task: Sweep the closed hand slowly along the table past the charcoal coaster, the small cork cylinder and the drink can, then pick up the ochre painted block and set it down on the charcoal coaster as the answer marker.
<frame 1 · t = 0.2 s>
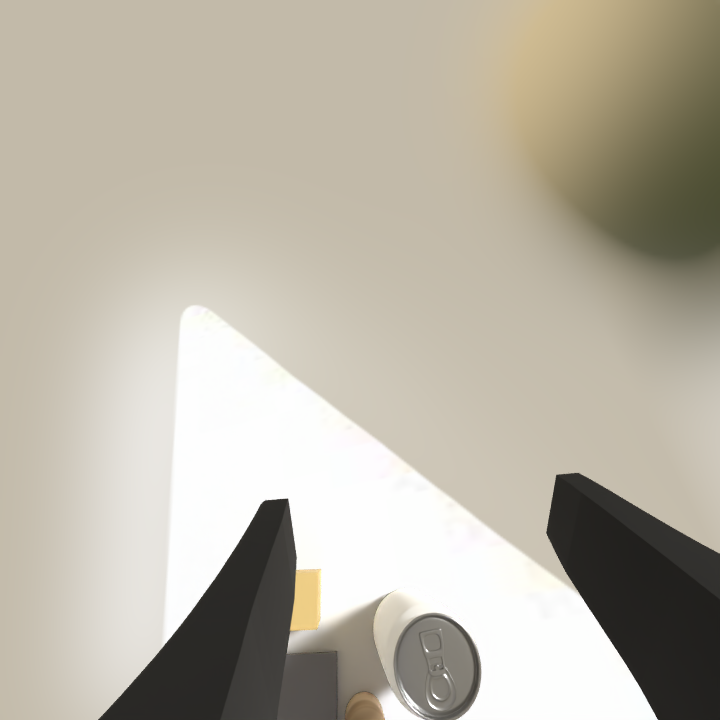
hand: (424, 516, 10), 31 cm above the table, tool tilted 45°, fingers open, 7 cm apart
can: (407, 627, 35), on the table
cork cylinder: (364, 716, 32), on the table
coaster: (301, 696, 32), on the table
ochre block: (299, 594, 36), on the table
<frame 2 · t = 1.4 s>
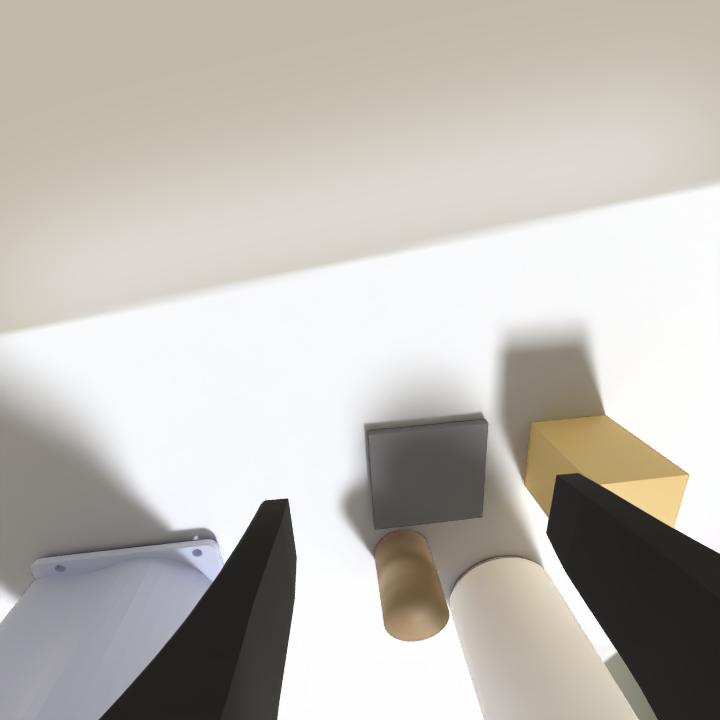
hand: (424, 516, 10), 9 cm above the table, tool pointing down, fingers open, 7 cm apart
can: (496, 587, 24), on the table
cork cylinder: (401, 551, 22), on the table
coaster: (427, 473, 20), on the table
ochre block: (563, 450, 21), on the table
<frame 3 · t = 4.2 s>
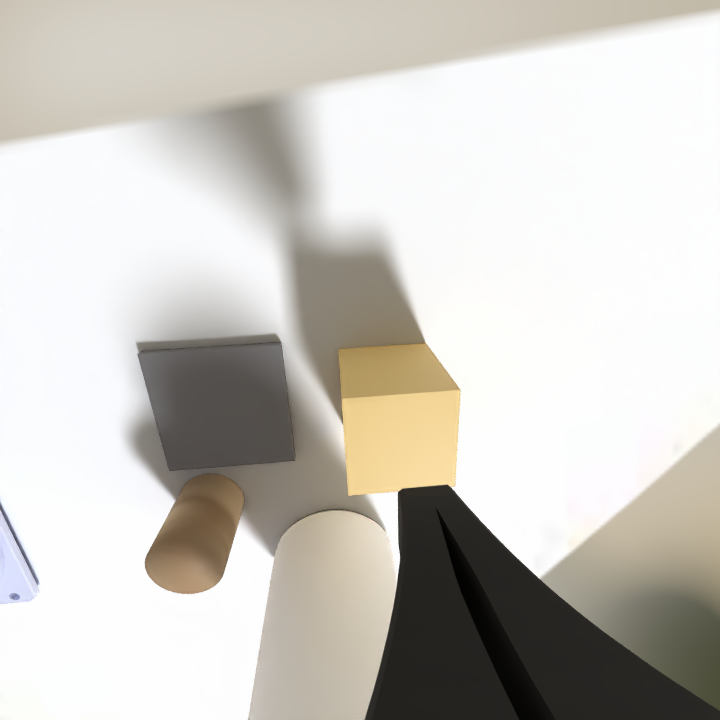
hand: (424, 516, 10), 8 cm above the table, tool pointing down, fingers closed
can: (334, 547, 22), on the table
cork cylinder: (212, 499, 20), on the table
coaster: (224, 407, 18), on the table
ochre block: (383, 385, 18), on the table
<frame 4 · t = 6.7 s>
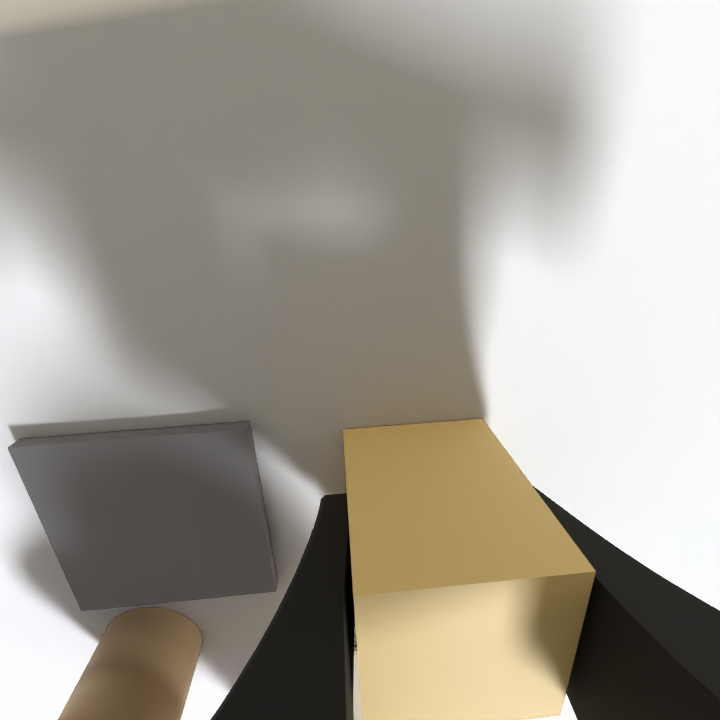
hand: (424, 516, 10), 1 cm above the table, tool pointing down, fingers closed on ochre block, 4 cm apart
can: (336, 688, 15), on the table
cork cylinder: (154, 639, 13), on the table
coaster: (162, 517, 11), on the table
ochre block: (412, 481, 12), on the table, touching gripper
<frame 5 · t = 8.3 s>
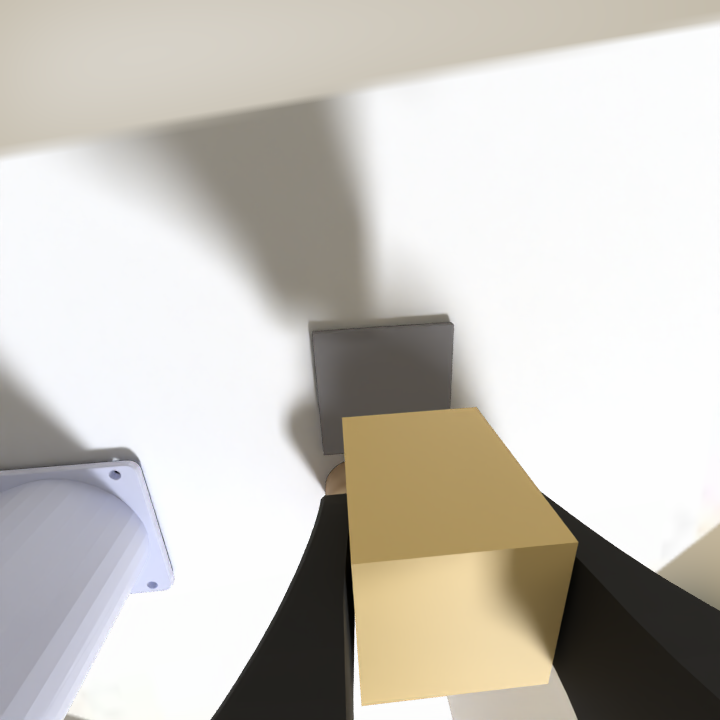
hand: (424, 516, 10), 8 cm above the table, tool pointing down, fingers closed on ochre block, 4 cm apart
can: (466, 534, 21), on the table
cork cylinder: (357, 485, 19), on the table
coaster: (384, 389, 18), on the table
ochre block: (409, 468, 12), point 6 cm above the table, touching gripper
when the fingers open (3 cm above the table, at t = 9.8 s): ochre block drops 1 cm, resting on coaster.
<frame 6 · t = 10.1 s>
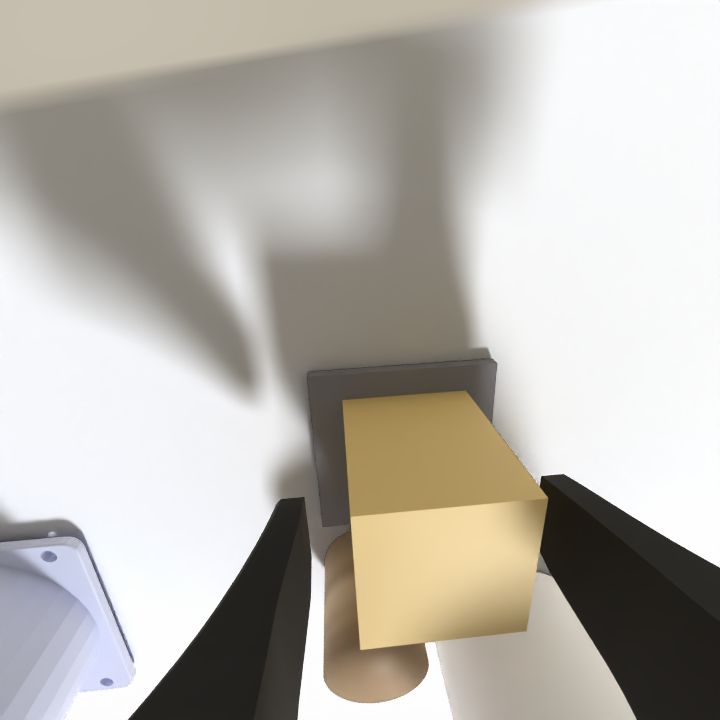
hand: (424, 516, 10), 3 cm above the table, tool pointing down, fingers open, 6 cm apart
can: (500, 611, 17), on the table
cork cylinder: (365, 559, 15), on the table
coaster: (401, 444, 13), on the table
ochre block: (404, 447, 13), resting on coaster
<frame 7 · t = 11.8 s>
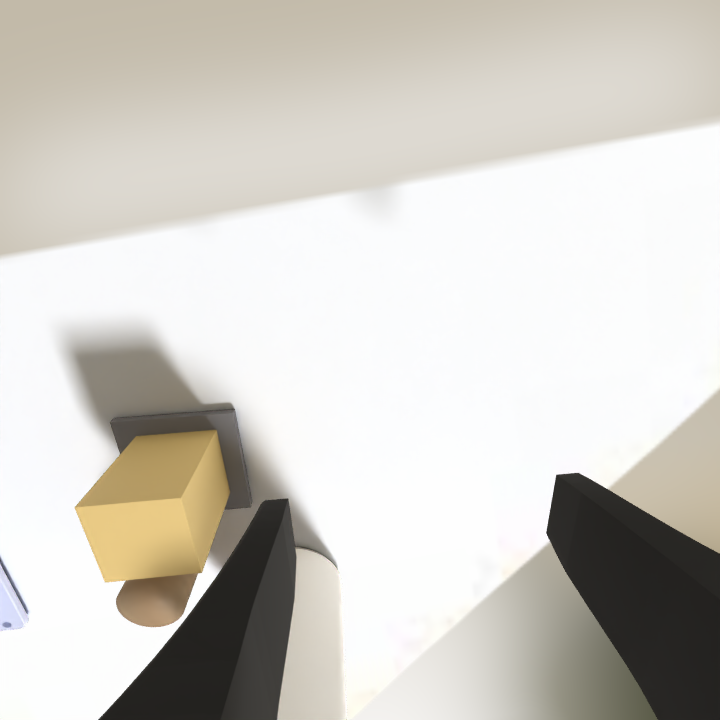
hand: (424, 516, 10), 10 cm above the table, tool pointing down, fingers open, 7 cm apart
can: (291, 578, 24), on the table
cork cylinder: (180, 539, 22), on the table
coaster: (187, 462, 21), on the table
ochre block: (185, 465, 20), resting on coaster
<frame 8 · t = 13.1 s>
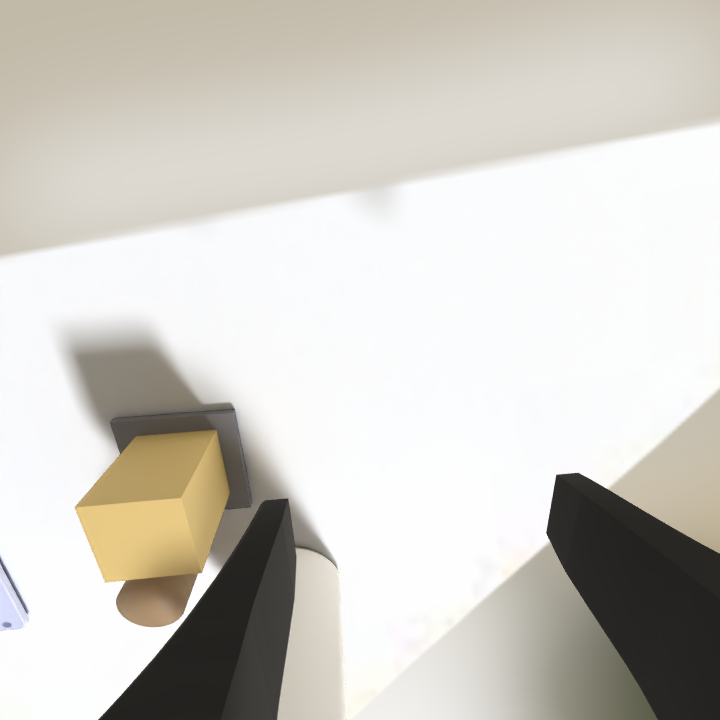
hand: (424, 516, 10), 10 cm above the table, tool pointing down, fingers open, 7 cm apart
can: (291, 578, 24), on the table
cork cylinder: (180, 539, 22), on the table
coaster: (187, 462, 21), on the table
ochre block: (185, 465, 20), resting on coaster
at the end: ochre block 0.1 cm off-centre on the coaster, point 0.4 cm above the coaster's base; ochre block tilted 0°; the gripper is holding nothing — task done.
